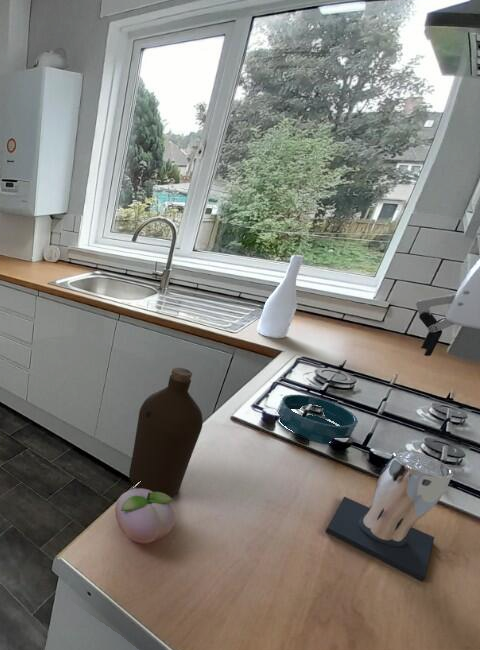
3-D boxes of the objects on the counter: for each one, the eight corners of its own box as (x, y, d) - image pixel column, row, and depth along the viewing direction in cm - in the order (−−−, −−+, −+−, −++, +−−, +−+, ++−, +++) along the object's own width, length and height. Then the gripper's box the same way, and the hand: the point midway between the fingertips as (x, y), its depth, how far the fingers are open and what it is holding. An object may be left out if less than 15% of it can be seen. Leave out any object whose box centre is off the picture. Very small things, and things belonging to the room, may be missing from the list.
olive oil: (170, 510, 75) (204, 392, 65) (116, 481, 82) (139, 370, 71) (190, 482, 82) (224, 371, 71) (139, 457, 89) (163, 353, 78)
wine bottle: (250, 330, 160) (275, 253, 147) (269, 328, 162) (295, 252, 149) (272, 339, 151) (301, 258, 139) (292, 337, 154) (321, 257, 141)
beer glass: (343, 515, 73) (380, 448, 67) (383, 517, 73) (424, 449, 67) (377, 548, 67) (421, 477, 61) (421, 550, 67) (470, 479, 60)
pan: (355, 430, 99) (363, 412, 97) (340, 453, 91) (349, 435, 89) (285, 405, 109) (292, 388, 107) (266, 424, 101) (273, 406, 99)
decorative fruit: (140, 511, 75) (150, 468, 71) (176, 546, 68) (190, 501, 64) (98, 526, 71) (107, 482, 67) (132, 565, 65) (144, 518, 60)
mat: (431, 541, 69) (434, 537, 69) (422, 581, 63) (425, 577, 62) (342, 500, 78) (344, 496, 78) (325, 531, 71) (327, 527, 71)
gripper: (638, 260, 53) (560, 375, 60) (445, 243, 65) (398, 341, 72) (650, 268, 49) (564, 392, 56) (441, 248, 61) (392, 352, 68)
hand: (471, 363), depth 64 cm, fingers open, 9 cm apart
